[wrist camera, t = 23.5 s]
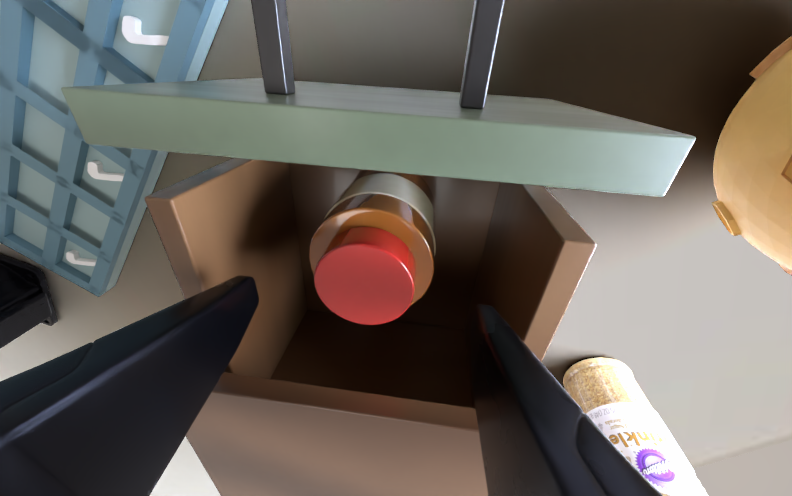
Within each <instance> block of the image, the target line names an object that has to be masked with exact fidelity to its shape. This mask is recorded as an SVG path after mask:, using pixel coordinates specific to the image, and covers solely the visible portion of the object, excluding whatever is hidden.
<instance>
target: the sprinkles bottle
mask: <svg viewBox="0 0 792 496" xmlns="http://www.w3.org/2000/svg"><path fill="white" fill-rule="evenodd" d="M563 384H564V386H565V389H566V390H567V392H568V393H569V395H570V396H571V397H572V398H573V399H574V400H575V402H576V403H577V404H578V405H579V406H580V407H581V408H582V410H583V413H586V414H587V415H588V416H589V417H590V419H591V420H592V421H593V422H594V423H595V424H596V425H597V427H598V428H599V429H600V430H601V431H602V432H603V433H604V434H605V436H606V437H607V438H608V439H609V440H610V441H611V442H612V443H613V444H614V445H615V447H616V448H617V449H618V450H619V451H620V452H621V453H622V454H623V455H624V456H625V457H626V458H627V459H628V461H629V462H630V463H631V464H632V465H633V466H634V467H635V468H636V469H637V470H638V471H639V472H640V473H641V474H642V475H643V476H644V477H645V478H646V479H647V480H648V481H649V482H650V483H651V484H652V485H653V486H654V487H655V488H656V489H657V490H658V491H659V492H660V493H661V494H662V495H663V496H708V495H707V493H706V491H705V489H704V488H703V487H702V485H701V483H700V482H699V480H698V479H697V478H696V476H695V472H694V470H693V468H692V467H691V465H690V463H689V462H688V460H687V459H686V457H685V456H684V454H683V452H682V451H681V449H680V448H679V446H678V445H677V443H676V441H675V440H674V438H673V437H672V435H671V433H670V432H669V430H668V429H667V427H666V426H665V424H664V423H663V421H662V419H661V418H660V416H659V415H658V414H657V412H656V411H654V410H653V408H652V406H651V405H650V403H649V401H648V400H647V399H646V397H645V395H644V394H643V392H642V391H641V389H640V387H639V386H638V384H637V383H636V381H635V380H634V376H633V374H632V371H631V370H630V368H628V366H626V365H625V364H624V363H622V362H620V361H619V360H615V359H611V358H603V357H598V358H590V359H585V360H582V361H580V362H578V363H576V364H574V365H572V366H571V367H570V368H569V369H568V370H567V371H566V373H565V375H564V378H563Z"/></svg>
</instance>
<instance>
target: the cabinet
mask: <svg viewBox="0 0 792 496" xmlns="http://www.w3.org/2000/svg"><path fill="white" fill-rule="evenodd" d="M186 437H187V439H188V440H189V442H190V444H191V446H192V447H193V449H194V451H195V452H196V454H197V456H198V457H199V459H200V461H201V463H202V464H203V466H204V468H205V469H206V471H207V473H208V474H209V476H210V478H211V479H212V481H213V483H214V485H215V486H216V488H217V490H218V491H219V493H220V495H221V496H488V490H487V483H486V477H485V470H484V463H483V456H482V450H481V443H480V436H479V429H478V423H477V416H476V409H475V408H470V407H463V406H456V405H449V404H442V403H435V402H428V401H421V400H414V399H407V398H400V397H393V396H386V395H379V394H372V393H366V392H359V391H352V390H345V389H338V388H331V387H324V386H317V385H310V384H303V383H296V382H289V381H282V380H275V379H268V378H261V377H254V376H248V375H241V374H234V373H227V372H224V373H223V374H222V376H221V378H220V379H219V381H218V383H217V384H216V386H215V387H214V389H213V391H212V392H211V394H210V396H209V397H208V399H207V401H206V402H205V404H204V406H203V407H202V409H201V411H200V412H199V414H198V416H197V417H196V419H195V421H194V422H193V424H192V426H191V427H190V429H189V431H188V432H187V434H186Z"/></svg>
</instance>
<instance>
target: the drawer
mask: <svg viewBox="0 0 792 496" xmlns="http://www.w3.org/2000/svg"><path fill="white" fill-rule="evenodd" d="M251 3H252V10H253V16H254V23H255V29H256V36H257V42H258V49H259V56H260V62H261V69H262V75H263V78H245V79H224V80H202V81H180V82H159V83H137V84H116V85H94V86H72V87H62V88H61V91H62V93H63V95H64V97H65V99H66V102H67V104H68V106H69V108H70V110H71V112H72V114H73V116H74V119H75V121H76V123H77V125H78V127H79V129H80V131H81V134H82V136H83V138H84V140H85V142H86V143H87V144H90V145H101V146H112V147H123V148H134V149H144V150H155V151H166V152H177V153H188V154H199V155H210V156H221V157H232V158H233V159H231V160H228V161H226V162H224V163H221V164H219V165H217V166H215V167H212V168H210V169H208V170H205V171H203V172H201V173H198V174H196V175H194V176H192V177H189V178H187V179H185V180H182V181H180V182H178V183H176V184H173V185H171V186H169V187H166V188H164V189H162V190H160V191H157V192H155V193H153V194H150V195H148V196H146V197H145V198H144V200H145V202H146V205H147V207H148V209H149V212H150V214H151V217H152V219H153V222H154V224H155V227H156V229H157V232H158V234H159V236H160V239H161V241H162V244H163V246H164V249H165V251H166V254H167V256H168V259H169V261H170V263H171V266H172V268H173V271H174V273H175V276H176V278H177V281H178V283H179V286H180V288H181V290H182V293H183V295H184V298H185V299H187V298H190V297H192V296H194V295H196V294H198V293H201V292H203V291H205V290H207V289H209V288H212V287H214V286H216V285H218V284H220V283H223V282H225V281H227V280H229V279H231V278H234V277H236V276H239V275H243V276H251V277H253V278H254V280H255V283H256V287H257V291H258V296H259V304H258V307H257V309H256V311H255V313H254V315H253V317H252V319H251V321H250V324H249V326H248V328H247V330H246V332H245V334H244V336H243V339H242V341H241V343H240V345H239V347H238V349H237V351H236V352H235V354H234V356H233V358H232V359H231V361H230V363H229V364H228V366H227V368H226V369H225V371H224V372H227V373H234V374H241V375H248V376H254V377H261V378H268V379H275V380H282V381H289V382H296V383H303V384H310V385H317V386H324V387H331V388H338V389H345V390H352V391H359V392H366V393H372V394H379V395H386V396H393V397H400V398H407V399H414V400H421V401H428V402H435V403H442V404H449V405H456V406H463V407H470V408H475V402H474V396H473V388H472V374H471V339H470V329H471V323H472V319H473V316H474V312H475V308H476V306H477V305H478V304H482V305H490V306H492V307H494V309H495V310H496V311H497V312H498V313H499V314H500V315H501V317H502V318H503V319H504V320H505V321H506V322H507V323H508V325H509V326H510V327H511V328H512V329H513V330H514V332H515V333H516V334H517V335H518V336H519V337H520V338H521V340H522V341H523V342H524V343H525V344H526V345H527V346H528V348H529V349H530V350H531V351H532V352H533V353H534V354H535V356H536V357H537V358H538V359H539V360H540V361H541V362H542V360H543V358H544V355H545V353H546V351H547V349H548V347H549V345H550V343H551V341H552V339H553V337H554V334H555V332H556V330H557V328H558V326H559V324H560V322H561V320H562V318H563V315H564V313H565V311H566V309H567V307H568V305H569V303H570V301H571V299H572V297H573V294H574V292H575V290H576V288H577V286H578V284H579V282H580V280H581V278H582V276H583V273H584V271H585V269H586V267H587V265H588V263H589V261H590V259H591V257H592V255H593V252H594V250H595V248H596V246H597V244H596V242H595V241H594V240H593V239H592V238H591V237H590V236H589V235H588V234H587V233H586V232H585V231H584V229H583V228H582V227H581V226H580V225H579V224H578V223H577V222H576V221H575V220H574V219H573V218H572V216H571V215H570V214H569V213H568V212H567V211H566V210H565V209H564V208H563V207H562V206H561V204H560V203H559V202H558V201H557V200H556V199H555V198H554V197H553V196H552V195H551V194H550V193H549V191H548V190H547V189H546V188H545V187H544V186H548V187H559V188H569V189H580V190H591V191H602V192H613V193H624V194H635V195H646V196H657V197H663V196H664V195H665V194H666V192H667V191H668V189H669V187H670V185H671V183H672V182H673V180H674V178H675V176H676V174H677V173H678V171H679V169H680V167H681V165H682V164H683V162H684V160H685V158H686V156H687V155H688V153H689V151H690V149H691V147H692V146H693V144H694V142H695V140H696V137H694V136H692V135H688V134H684V133H680V132H676V131H672V130H669V129H665V128H661V127H657V126H653V125H649V124H645V123H641V122H637V121H634V120H630V119H626V118H622V117H618V116H614V115H610V114H606V113H602V112H599V111H595V110H591V109H587V108H583V107H579V106H575V105H571V104H567V103H564V102H560V101H556V100H552V99H543V98H530V97H516V96H502V95H488V94H487V92H488V87H489V82H490V76H491V71H492V66H493V61H494V56H495V50H496V45H497V40H498V35H499V30H500V25H501V19H502V14H503V9H504V4H505V0H474V6H473V13H472V20H471V26H470V33H469V39H468V46H467V53H466V59H465V66H464V73H463V79H462V86H461V92H446V91H432V90H419V89H405V88H391V87H377V86H363V85H349V84H335V83H321V82H307V81H294V74H293V64H292V55H291V45H290V36H289V26H288V17H287V7H286V0H251ZM364 170H373V171H384V172H395V173H406V174H417V175H420V176H421V177H422V178H423V179H424V180H425V182H426V183H427V184H428V186H429V188H430V189H431V192H432V194H433V197H434V202H435V217H436V252H435V257H434V275H433V279H432V282H431V284H430V286H429V288H428V289H427V291H426V292H425V294H424V295H423V296H422V297H421V298H420V299H419V300H418V301H417V302H415V303H414V304H412V305H411V306H409V308H408V309H407V310H406V312H405V313H403V314H402V315H401V316H400V317H398V318H397V319H395V320H393V321H391V322H388V323H384V324H379V325H363V324H357V323H354V322H350V321H348V320H345V319H343V318H341V317H339V316H338V315H336V314H335V313H333V312H332V311H331V310H329V309H328V308H327V307H326V306H325V304H324V303H323V302H322V301H321V299H320V298H319V296H318V294H317V291H316V289H315V284H314V274H313V272H312V269H311V265H310V260H309V249H310V243H311V240H312V237H313V235H314V233H315V231H316V230H317V229H318V227H319V226H320V224H321V223H322V222H323V220H324V218H325V216H326V214H327V213H328V211H329V210H330V209H331V207H332V206H333V205H334V203H335V202H336V201H337V199H338V198H339V197H340V196H341V194H342V193H343V192H344V190H345V189H346V188H347V187H348V186H349V185H350V184H351V183H352V182H353V180H354V179H355V178H356V177H357V176H358V175H359V174H360V173H361V172H362V171H364Z"/></svg>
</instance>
